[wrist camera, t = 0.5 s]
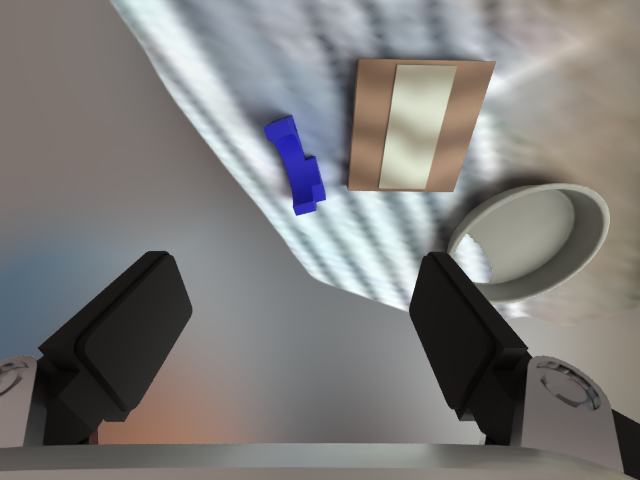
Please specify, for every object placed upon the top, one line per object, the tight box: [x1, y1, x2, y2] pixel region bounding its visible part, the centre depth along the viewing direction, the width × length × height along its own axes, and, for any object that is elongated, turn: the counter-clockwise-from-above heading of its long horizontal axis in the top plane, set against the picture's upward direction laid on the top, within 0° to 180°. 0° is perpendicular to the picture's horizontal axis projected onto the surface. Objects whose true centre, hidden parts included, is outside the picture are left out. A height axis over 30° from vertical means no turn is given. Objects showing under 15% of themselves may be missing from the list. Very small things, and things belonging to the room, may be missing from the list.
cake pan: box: [447, 183, 610, 305], centre depth 42 cm, size 25×25×4 cm
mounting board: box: [347, 59, 496, 192], centre depth 33 cm, size 16×16×2 cm
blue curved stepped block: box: [264, 116, 326, 216], centre depth 33 cm, size 12×4×6 cm, turn 16°
